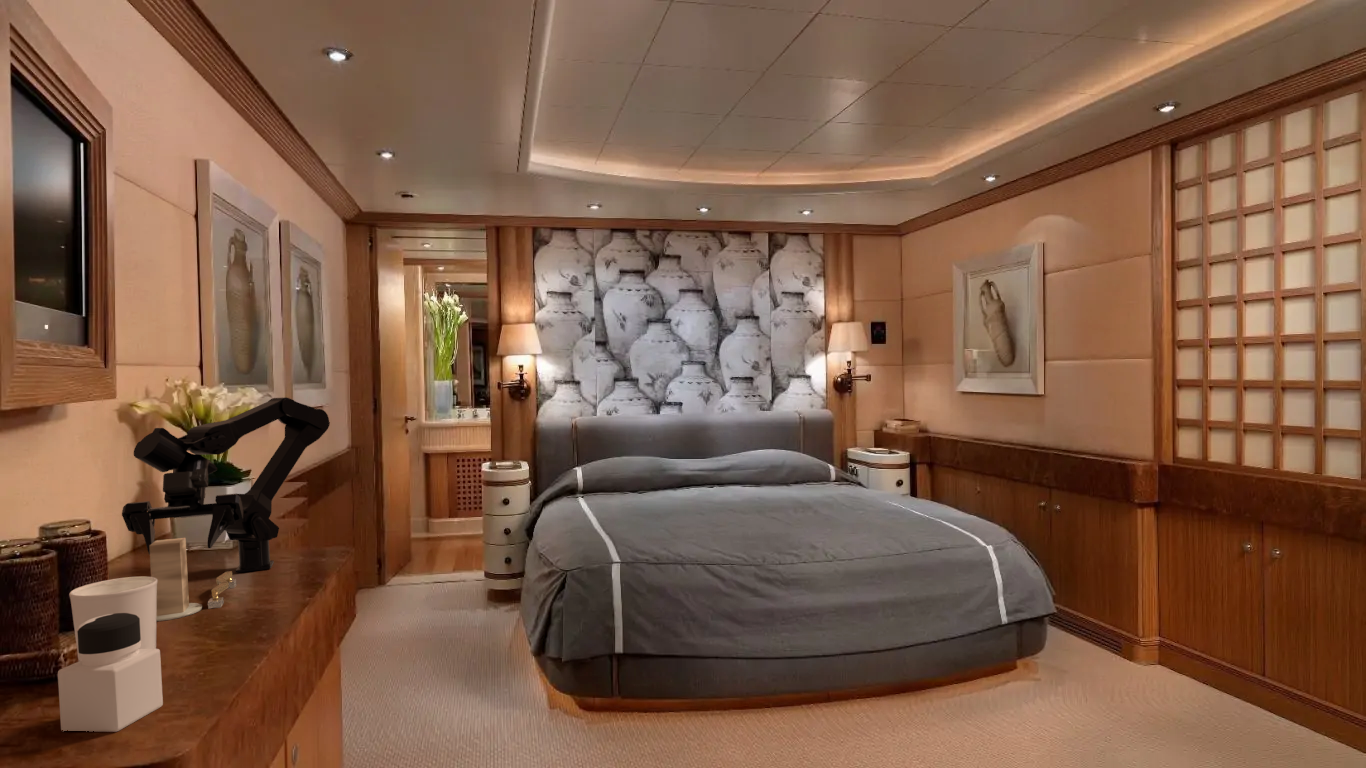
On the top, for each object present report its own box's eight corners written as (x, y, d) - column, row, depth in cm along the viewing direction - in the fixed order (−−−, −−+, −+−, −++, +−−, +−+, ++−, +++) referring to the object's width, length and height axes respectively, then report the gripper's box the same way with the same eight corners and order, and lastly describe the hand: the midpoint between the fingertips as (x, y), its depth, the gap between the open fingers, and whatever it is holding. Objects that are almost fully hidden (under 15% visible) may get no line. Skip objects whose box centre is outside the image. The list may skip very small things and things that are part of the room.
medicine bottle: (164, 706, 97) (159, 608, 97) (117, 732, 90) (111, 627, 89) (110, 705, 97) (105, 608, 97) (59, 732, 90) (53, 627, 90)
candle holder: (178, 662, 112) (174, 577, 112) (108, 690, 103) (103, 597, 102) (129, 657, 115) (124, 574, 115) (56, 683, 106) (51, 593, 106)
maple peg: (159, 609, 138) (156, 540, 138) (189, 605, 140) (185, 537, 139) (153, 616, 134) (149, 545, 134) (183, 612, 136) (179, 542, 135)
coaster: (148, 609, 139) (147, 607, 139) (206, 602, 143) (206, 600, 143) (133, 624, 131) (133, 622, 131) (196, 616, 134) (196, 613, 134)
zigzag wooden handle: (222, 586, 154) (221, 571, 154) (238, 584, 155) (237, 569, 155) (205, 609, 139) (204, 591, 138) (223, 606, 140) (222, 589, 139)
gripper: (121, 459, 145) (106, 530, 135) (237, 451, 152) (231, 518, 142) (135, 496, 152) (122, 566, 142) (245, 487, 159) (240, 553, 149)
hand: (179, 550), depth 144 cm, fingers open, 9 cm apart
